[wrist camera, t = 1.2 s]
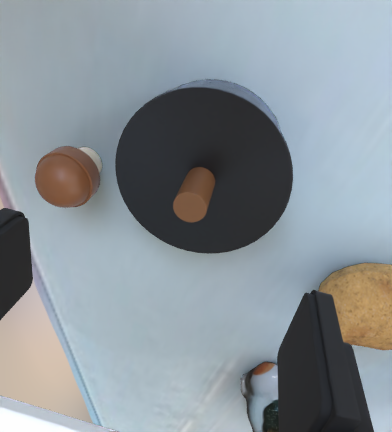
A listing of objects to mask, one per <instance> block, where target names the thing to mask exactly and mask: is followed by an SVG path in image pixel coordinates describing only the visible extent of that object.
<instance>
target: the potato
mask: <svg viewBox="0 0 392 432" xmlns="http://www.w3.org/2000/svg"><path fill="white" fill-rule="evenodd" d="M319 291H320V292H323V293H327V294H331V295H332V296H333V299H334V303H335V308H336V312H337V316H338V321H339V325H340V330H341V334H342V338H343V342H345V343H349V344H351V345H358V346H364V347H370V348H375V349H380V350H392V265H389V264H377V263H362V264H357V265H353V266H348V267H345V268H343V269H340V270H338V271H335V272H333V273H331V274H330V275H329V276H328V277H327V278H326V279H325V280H324V281H323V282H322V283H321V284H320V287H319Z"/></svg>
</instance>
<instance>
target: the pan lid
mask: <svg viewBox="0 0 392 432" xmlns="http://www.w3.org/2000/svg"><path fill="white" fill-rule="evenodd" d="M116 176H117V182H118V186H119V189H120V193H121V195H122V197H123V200H124V202H125V204H126V205H127V207H128V209H129V210H130V212H131V213H132V214H133V216H134V217H135V219H136V220H137V221H138V222H139V223H140V224H141V225H142V226H143V227H144V228H145V229H146V230H148V231H149V232H150V233H151V234H153V235H154V236H156V237H157V238H158V239H160V240H162V241H164V242H166V243H167V244H170V245H172V246H174V247H177V248H180V249H183V250H187V251H192V252H197V253H222V252H229V251H232V250H236V249H239V248H242V247H245V246H247V245H249V244H251V243H253V242H255V241H256V240H258V239H259V238H261V237H262V236H263V235H265V234H266V233H267V232H268V231H269V230H270V229H271V228H272V227H273V226H274V225H275V224H276V222H277V221H278V220H279V219H280V217H281V215H282V214H283V212H284V210H285V208H286V206H287V203H288V201H289V198H290V194H291V190H292V182H293V167H292V161H291V156H290V152H289V149H288V146H287V143H286V141H285V139H284V137H283V135H282V133H281V131H280V130H279V128H278V127H277V125H276V124H275V123H274V121H273V120H272V119H271V118H270V117H269V116H268V115H267V114H266V113H265V112H264V111H263V110H262V109H261V108H259V107H258V106H257V105H256V104H254V103H253V102H251V101H250V100H248V99H246V98H245V97H243V96H241V95H238V94H236V93H234V92H231V91H228V90H224V89H221V88H216V87H208V86H190V87H183V88H178V89H175V90H171V91H168V92H166V93H163V94H161V95H159V96H157V97H155V98H154V99H152V100H151V101H149V102H148V103H146V104H145V105H144V106H143V107H142V108H140V109H139V110H138V111H137V112H136V113H135V115H134V116H133V117H132V118H131V119H130V121H129V122H128V124H127V125H126V127H125V129H124V131H123V133H122V135H121V138H120V140H119V144H118V148H117V153H116Z"/></svg>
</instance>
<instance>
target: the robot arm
mask: <svg viewBox="0 0 392 432" xmlns="http://www.w3.org/2000/svg"><path fill="white" fill-rule="evenodd" d="M32 280H33V276H32V263H31V249H30V236H29V222H28V219H27V218H25V216H24V214H23V213H22V212H19V211H15V210H11V209H8V208H3V209H1V210H0V320H1V319H2V318H3V316H5V314H6V313H7V312H8V311H9V310H10V309H11V308H12V307H13V306H14V305H15V303H16V302H17V301H18V300H19V299H20V298H21V297H22V296H23V295H24V294H25V293H26V291H27V290H28V289H29V288H30V286H31V284H32ZM277 366H278V414H279V432H374V430H373V426H372V422H371V418H370V414H369V410H368V407H367V403H366V399H365V395H364V391H363V387H362V383H361V379H360V375H359V371H358V367H357V363H356V359H355V355H354V351H353V349H352V346H351V345H350V344H349V343H345V342H343V338H342V334H341V330H340V325H339V321H338V316H337V312H336V308H335V303H334V299H333V296H332V295H331V294H327V293H323V292H320V291H316V290H313V291H312V292H311V293H310V294H309V293H305V294H304V296H303V298H302V300H301V302H300V304H299V307H298V309H297V311H296V313H295V315H294V317H293V320H292V322H291V324H290V326H289V328H288V331H287V333H286V335H285V337H284V339H283V341H282V344H281V346H280V348H279V351H278V357H277ZM0 432H118V431H115V430H112V429H109V428H105V427H102V426H99V425H96V424H92V423H89V422H86V421H83V420H79V419H76V418H73V417H70V416H66V415H63V414H60V413H57V412H53V411H50V410H47V409H43V408H40V407H37V406H34V405H31V404H27V403H24V402H21V401H18V400H14V399H11V398H8V397H4V396H0Z"/></svg>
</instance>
